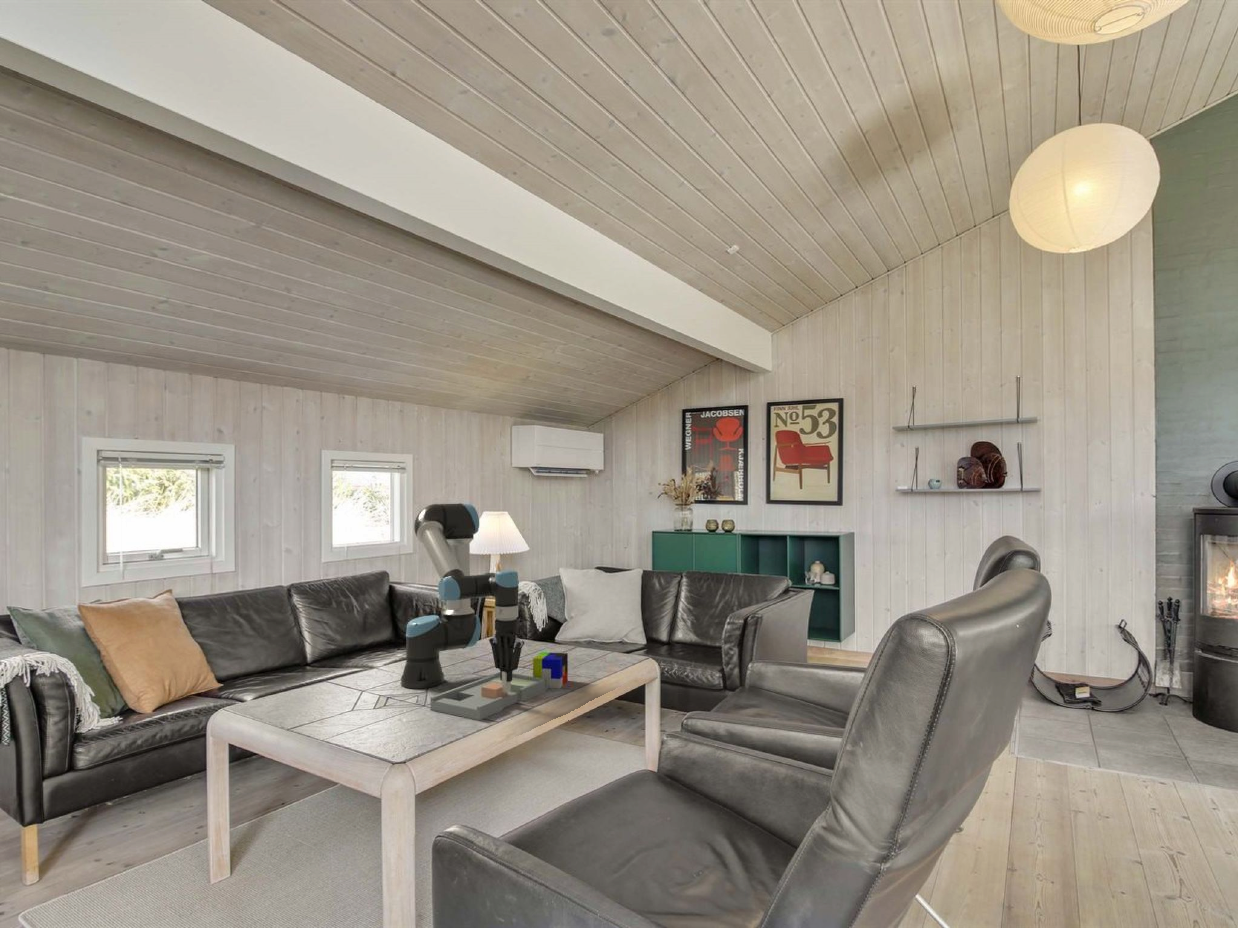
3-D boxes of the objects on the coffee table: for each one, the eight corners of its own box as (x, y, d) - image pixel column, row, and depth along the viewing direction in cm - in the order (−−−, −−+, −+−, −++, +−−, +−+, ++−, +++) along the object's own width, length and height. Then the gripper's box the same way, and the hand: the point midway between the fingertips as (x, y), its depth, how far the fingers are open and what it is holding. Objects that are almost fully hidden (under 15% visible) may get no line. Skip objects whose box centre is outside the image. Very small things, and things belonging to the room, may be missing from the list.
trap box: (430, 709, 221) (430, 697, 221) (501, 682, 252) (501, 671, 252) (479, 720, 211) (479, 707, 211) (547, 690, 242) (547, 679, 242)
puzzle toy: (559, 688, 245) (559, 659, 245) (532, 686, 247) (532, 658, 247) (567, 680, 254) (567, 653, 255) (541, 679, 256) (541, 652, 257)
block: (481, 696, 225) (481, 686, 225) (493, 691, 231) (493, 682, 231) (495, 698, 222) (496, 689, 223) (507, 694, 228) (507, 684, 228)
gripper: (483, 618, 227) (483, 691, 226) (515, 622, 220) (515, 697, 219) (498, 614, 233) (498, 685, 232) (529, 618, 227) (529, 691, 226)
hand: (506, 691), depth 226 cm, fingers closed
